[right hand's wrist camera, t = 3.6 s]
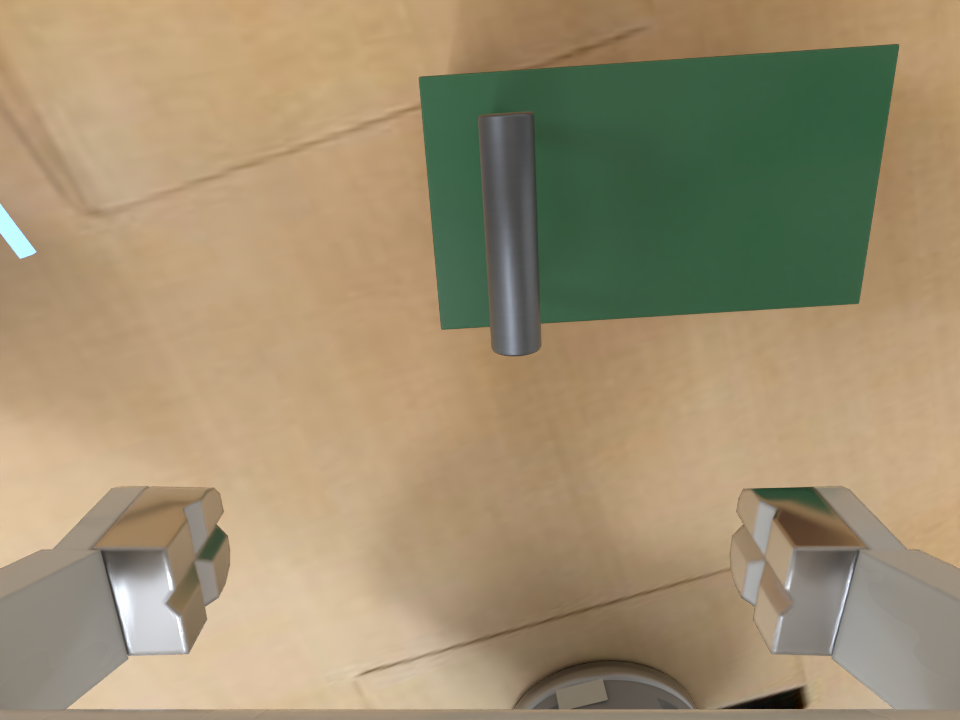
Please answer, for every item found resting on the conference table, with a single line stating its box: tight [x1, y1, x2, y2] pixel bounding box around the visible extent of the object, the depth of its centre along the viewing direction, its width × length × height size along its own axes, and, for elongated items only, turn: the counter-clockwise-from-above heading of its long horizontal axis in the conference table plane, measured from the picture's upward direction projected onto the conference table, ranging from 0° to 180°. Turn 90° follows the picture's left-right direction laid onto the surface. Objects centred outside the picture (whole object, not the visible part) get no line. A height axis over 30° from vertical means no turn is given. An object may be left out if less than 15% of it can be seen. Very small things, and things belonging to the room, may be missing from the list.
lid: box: [419, 44, 899, 356], centre depth 23 cm, size 18×10×8 cm, turn 94°
